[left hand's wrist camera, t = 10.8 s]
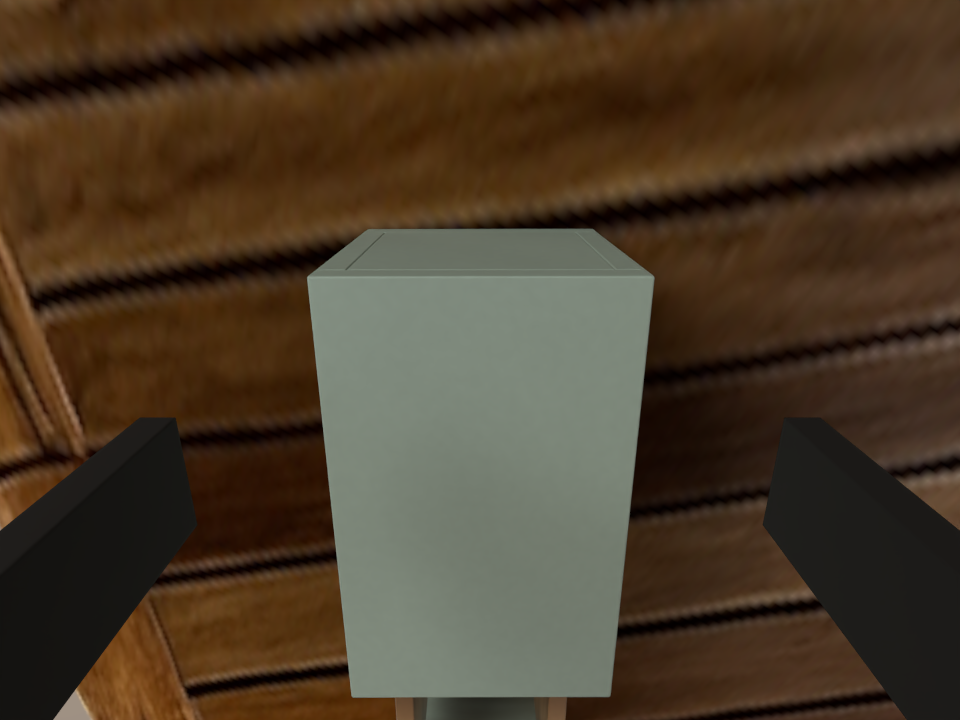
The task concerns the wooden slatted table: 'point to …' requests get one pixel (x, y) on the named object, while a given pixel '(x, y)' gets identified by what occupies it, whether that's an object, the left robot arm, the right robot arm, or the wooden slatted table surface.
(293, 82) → the wooden slatted table surface
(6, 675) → the left robot arm
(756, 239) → the wooden slatted table surface
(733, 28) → the wooden slatted table surface
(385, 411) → the cabinet
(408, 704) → the drawer
